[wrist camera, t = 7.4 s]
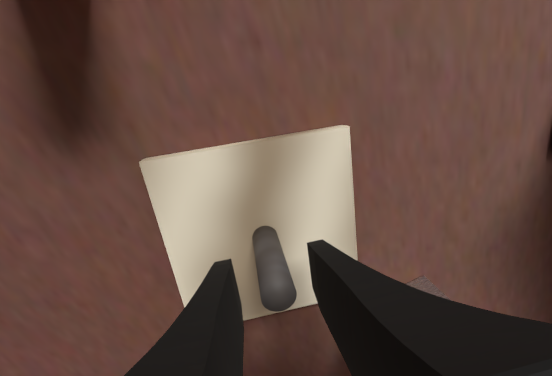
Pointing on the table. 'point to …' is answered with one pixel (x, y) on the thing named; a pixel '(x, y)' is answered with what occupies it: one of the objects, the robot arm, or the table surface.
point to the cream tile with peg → (255, 213)
